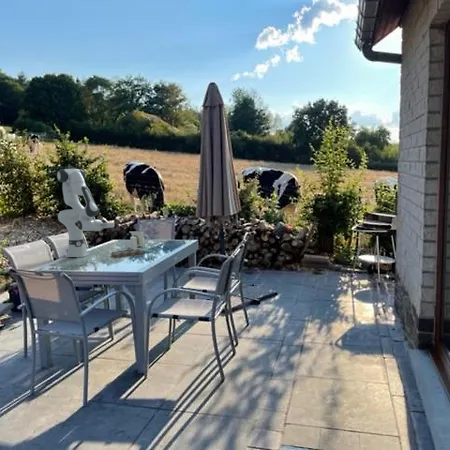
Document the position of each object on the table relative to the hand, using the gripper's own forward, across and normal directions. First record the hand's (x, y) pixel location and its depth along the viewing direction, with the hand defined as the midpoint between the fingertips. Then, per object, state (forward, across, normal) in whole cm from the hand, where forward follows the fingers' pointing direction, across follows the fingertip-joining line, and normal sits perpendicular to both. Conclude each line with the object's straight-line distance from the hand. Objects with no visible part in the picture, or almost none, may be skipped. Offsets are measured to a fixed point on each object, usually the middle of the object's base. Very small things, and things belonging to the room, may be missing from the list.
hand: (113, 225), depth 377 cm
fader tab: (+18, -4, +21) cm, 28 cm away
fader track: (+13, -2, +24) cm, 27 cm away
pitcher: (+43, +25, +17) cm, 52 cm away
